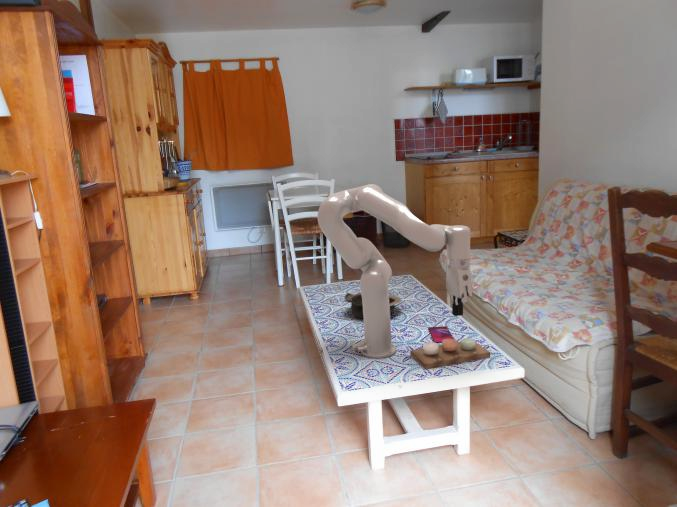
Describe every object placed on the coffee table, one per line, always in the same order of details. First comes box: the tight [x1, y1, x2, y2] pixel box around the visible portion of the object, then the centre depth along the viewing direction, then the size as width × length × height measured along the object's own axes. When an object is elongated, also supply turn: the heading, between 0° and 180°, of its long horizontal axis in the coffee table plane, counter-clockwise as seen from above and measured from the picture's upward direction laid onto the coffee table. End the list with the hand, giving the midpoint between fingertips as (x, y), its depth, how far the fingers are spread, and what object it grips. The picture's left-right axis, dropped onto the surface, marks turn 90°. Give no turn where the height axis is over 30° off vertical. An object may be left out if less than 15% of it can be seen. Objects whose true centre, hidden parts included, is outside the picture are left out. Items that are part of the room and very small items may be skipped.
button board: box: [410, 341, 491, 371], centre depth 174 cm, size 24×12×2 cm, turn 105°
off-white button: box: [422, 341, 439, 355], centre depth 172 cm, size 5×5×2 cm
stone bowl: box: [343, 292, 403, 319], centre depth 222 cm, size 25×25×9 cm
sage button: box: [459, 337, 476, 350], centre depth 175 cm, size 5×5×2 cm
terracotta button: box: [441, 338, 458, 351], centre depth 173 cm, size 5×5×2 cm
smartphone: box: [427, 325, 454, 344], centre depth 194 cm, size 8×1×15 cm
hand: (457, 314), depth 172 cm, fingers closed
